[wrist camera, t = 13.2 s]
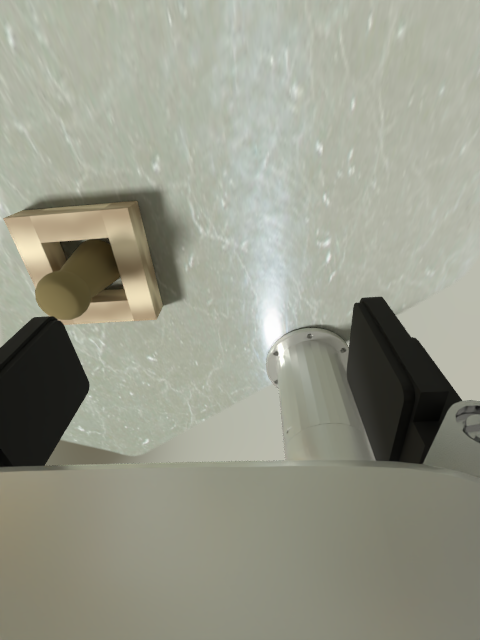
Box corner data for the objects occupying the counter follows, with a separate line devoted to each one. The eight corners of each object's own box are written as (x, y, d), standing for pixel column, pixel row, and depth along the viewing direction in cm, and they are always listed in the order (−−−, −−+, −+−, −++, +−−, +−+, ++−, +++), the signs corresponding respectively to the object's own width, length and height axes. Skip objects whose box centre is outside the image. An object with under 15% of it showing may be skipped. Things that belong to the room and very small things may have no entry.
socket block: (162, 306, 45) (156, 319, 42) (65, 311, 46) (53, 325, 43) (137, 200, 38) (127, 208, 35) (22, 210, 39) (3, 218, 36)
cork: (133, 270, 42) (98, 313, 33) (98, 290, 44) (57, 337, 35) (100, 230, 40) (53, 265, 30) (65, 253, 42) (10, 293, 32)
